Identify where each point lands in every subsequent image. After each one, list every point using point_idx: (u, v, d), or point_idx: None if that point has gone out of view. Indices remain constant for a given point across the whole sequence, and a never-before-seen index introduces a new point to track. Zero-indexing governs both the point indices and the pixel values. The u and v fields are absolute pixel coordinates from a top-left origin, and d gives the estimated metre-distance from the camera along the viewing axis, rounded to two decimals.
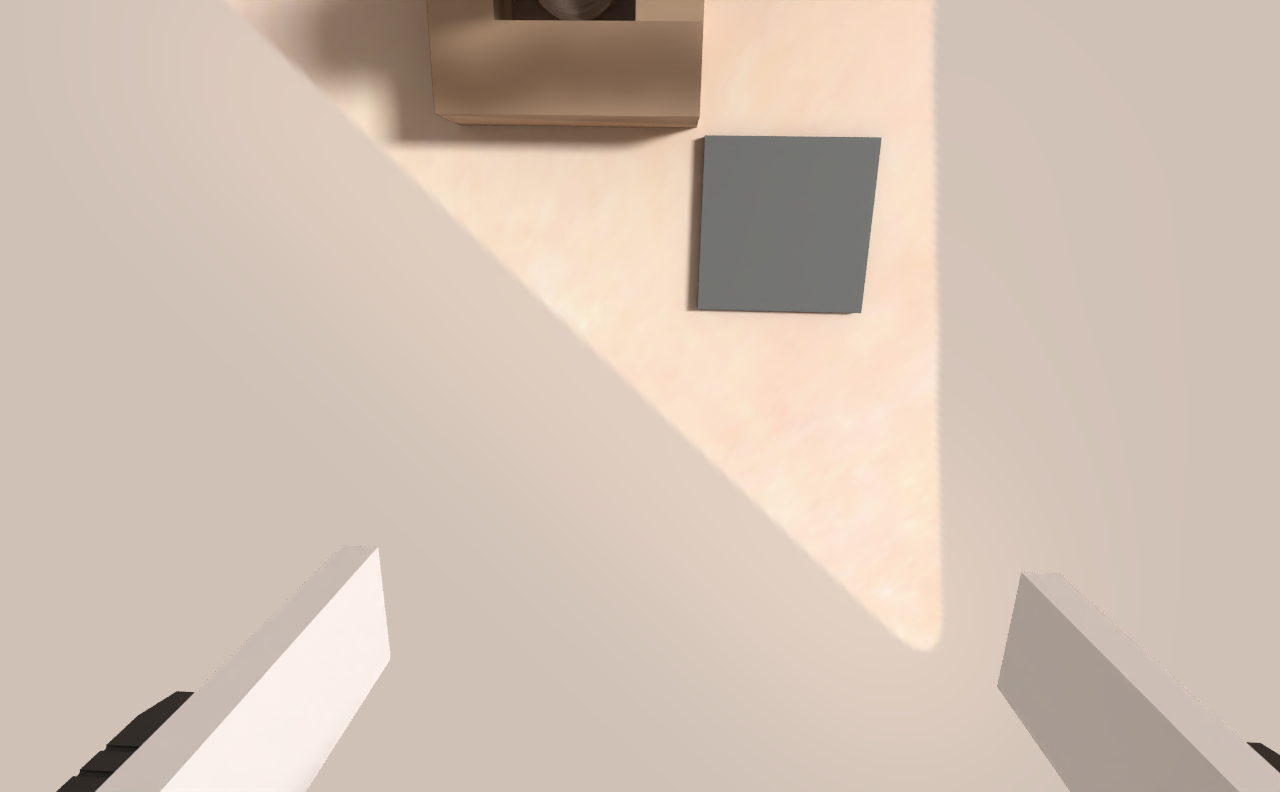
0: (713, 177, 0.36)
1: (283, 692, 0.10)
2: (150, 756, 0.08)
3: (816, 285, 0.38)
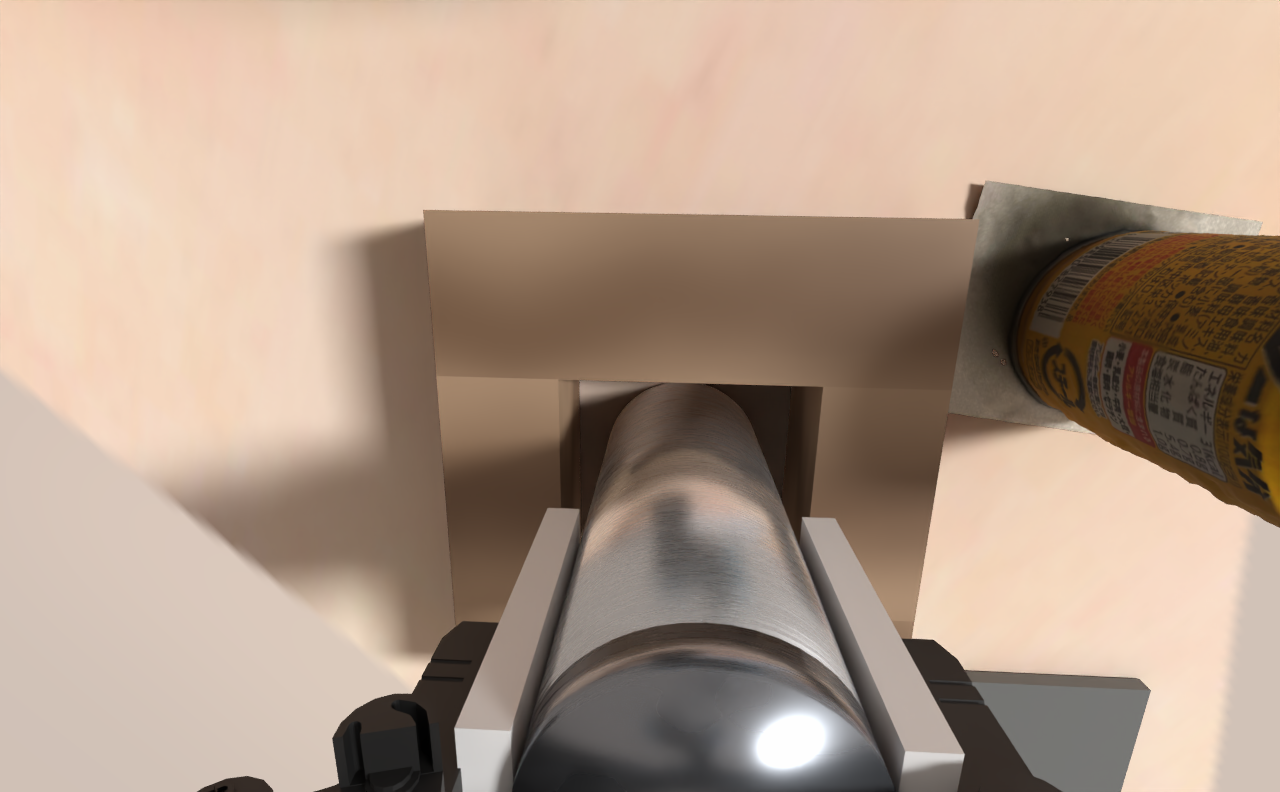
0: None
1: (553, 621, 0.11)
2: (498, 659, 0.09)
3: None
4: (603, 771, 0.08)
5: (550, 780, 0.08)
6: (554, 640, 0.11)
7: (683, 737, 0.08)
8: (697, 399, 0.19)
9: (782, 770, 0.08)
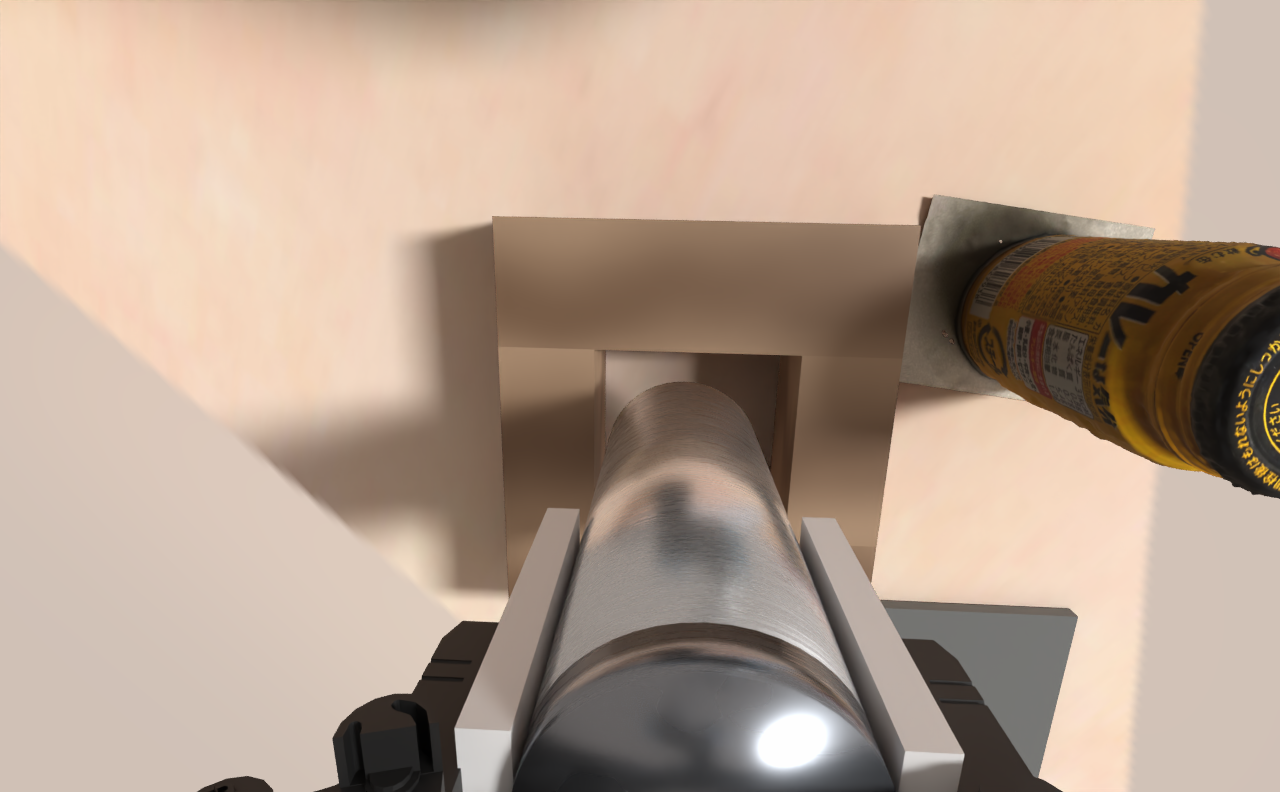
0: None
1: (553, 621, 0.11)
2: (499, 659, 0.09)
3: None
4: (604, 771, 0.08)
5: (550, 780, 0.08)
6: (554, 640, 0.11)
7: (683, 737, 0.08)
8: (697, 399, 0.19)
9: (782, 770, 0.08)
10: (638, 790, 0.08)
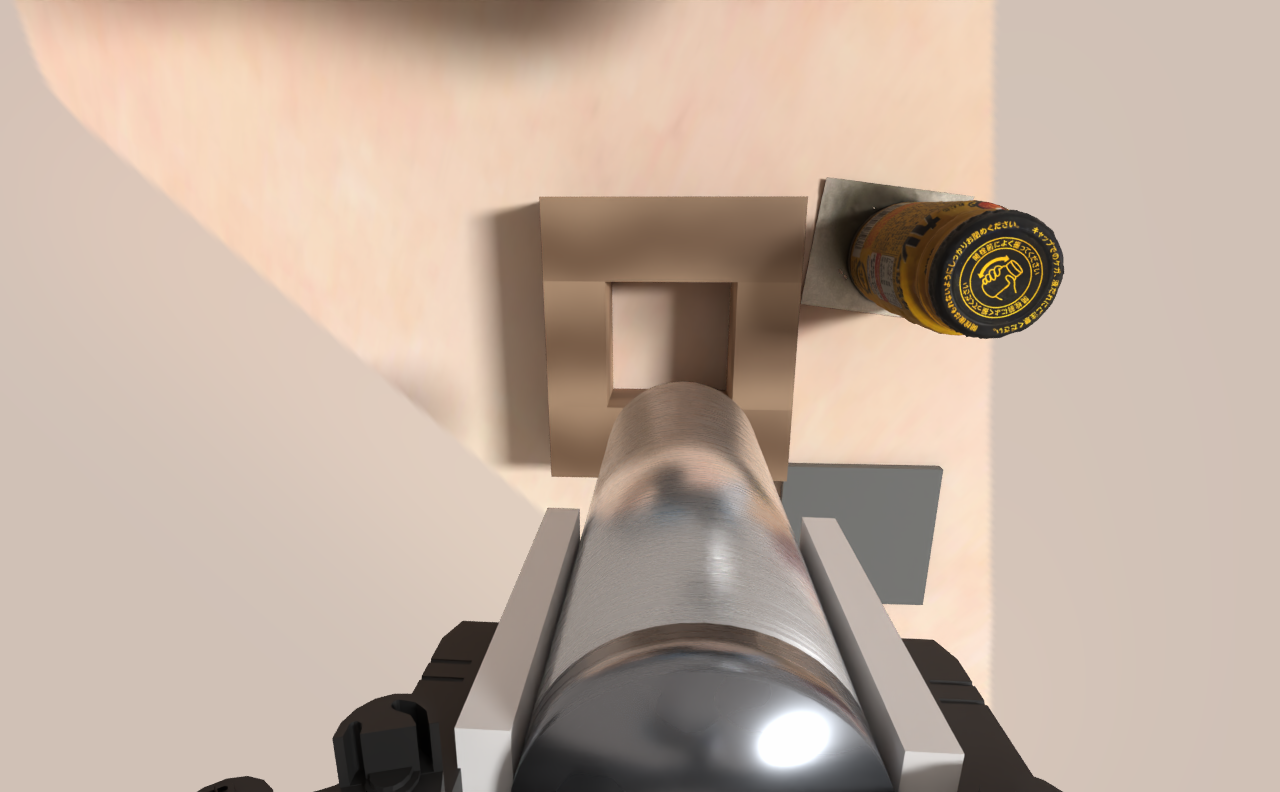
0: (791, 498, 0.40)
1: (553, 621, 0.11)
2: (499, 659, 0.09)
3: (882, 583, 0.42)
4: (602, 772, 0.08)
5: (549, 780, 0.08)
6: (553, 640, 0.11)
7: (682, 737, 0.08)
8: (697, 399, 0.19)
9: (781, 770, 0.08)
10: (637, 791, 0.08)
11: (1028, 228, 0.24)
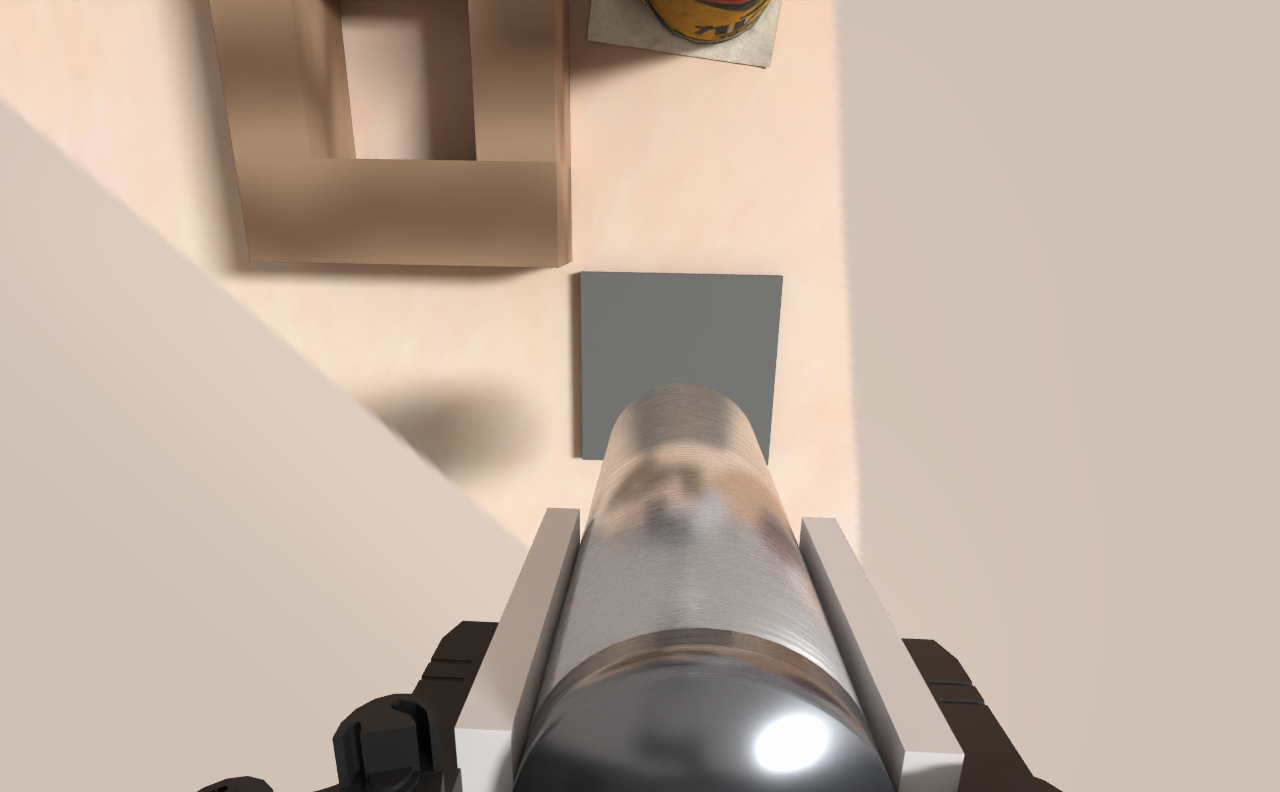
0: (592, 318, 0.31)
1: (553, 621, 0.11)
2: (498, 659, 0.09)
3: None
4: (603, 778, 0.08)
5: (549, 787, 0.08)
6: (553, 644, 0.11)
7: (683, 744, 0.08)
8: (697, 401, 0.19)
9: (782, 777, 0.08)
10: None
11: None
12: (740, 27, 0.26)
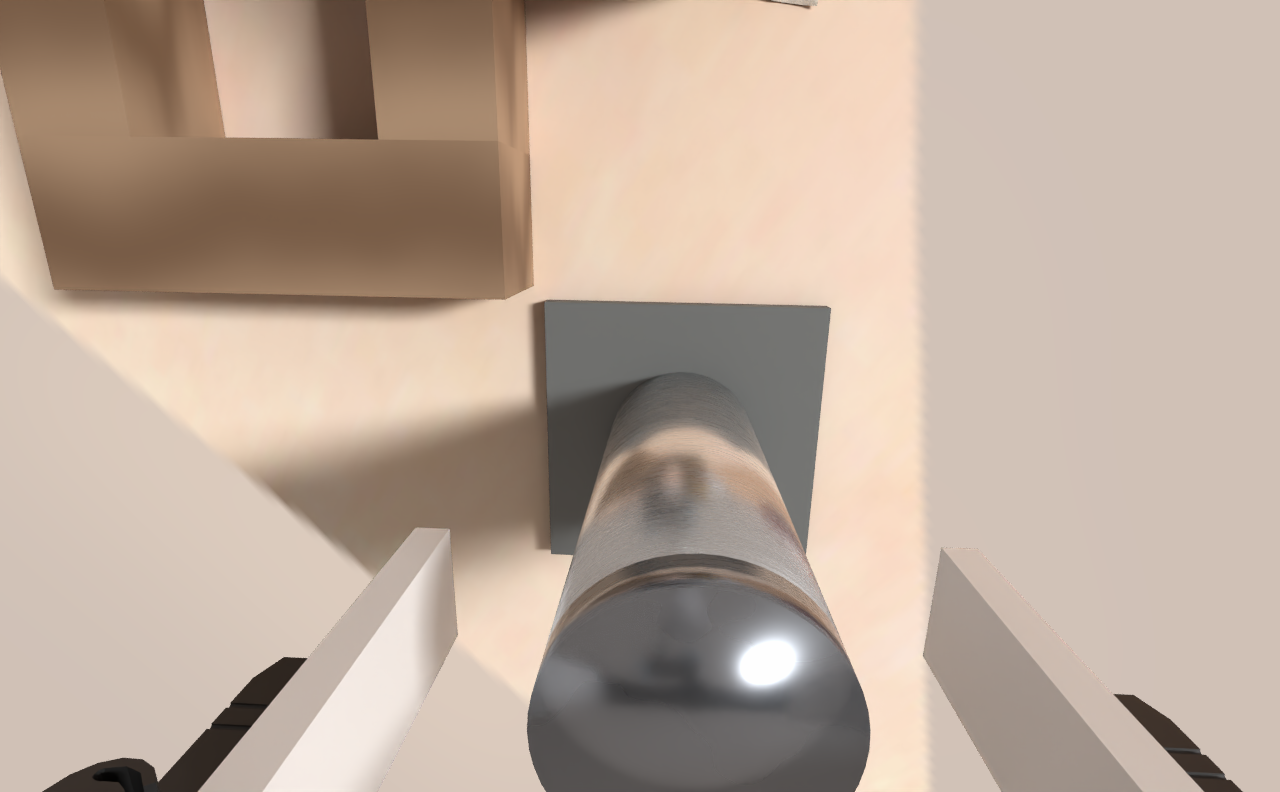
0: (562, 365, 0.22)
1: (383, 658, 0.10)
2: (284, 708, 0.08)
3: None
4: (611, 679, 0.09)
5: (564, 687, 0.09)
6: (565, 584, 0.12)
7: (680, 647, 0.09)
8: (695, 386, 0.20)
9: (765, 676, 0.09)
10: (640, 696, 0.09)
11: None
12: None
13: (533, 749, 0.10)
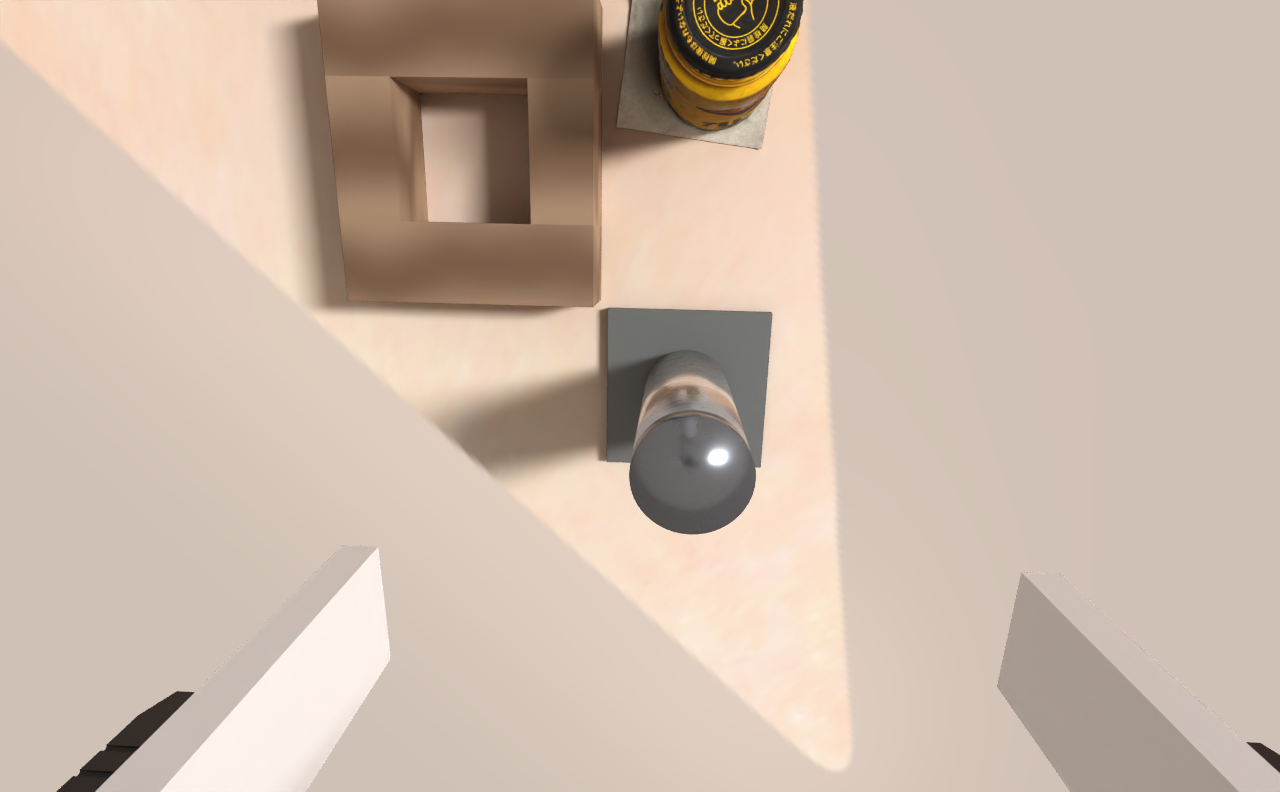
0: (617, 345, 0.38)
1: (282, 692, 0.10)
2: (150, 756, 0.08)
3: None
4: (661, 452, 0.25)
5: (644, 456, 0.25)
6: (637, 433, 0.28)
7: (686, 439, 0.25)
8: (694, 357, 0.36)
9: (717, 450, 0.25)
10: (672, 459, 0.25)
11: None
12: (737, 121, 0.34)
13: (631, 482, 0.26)
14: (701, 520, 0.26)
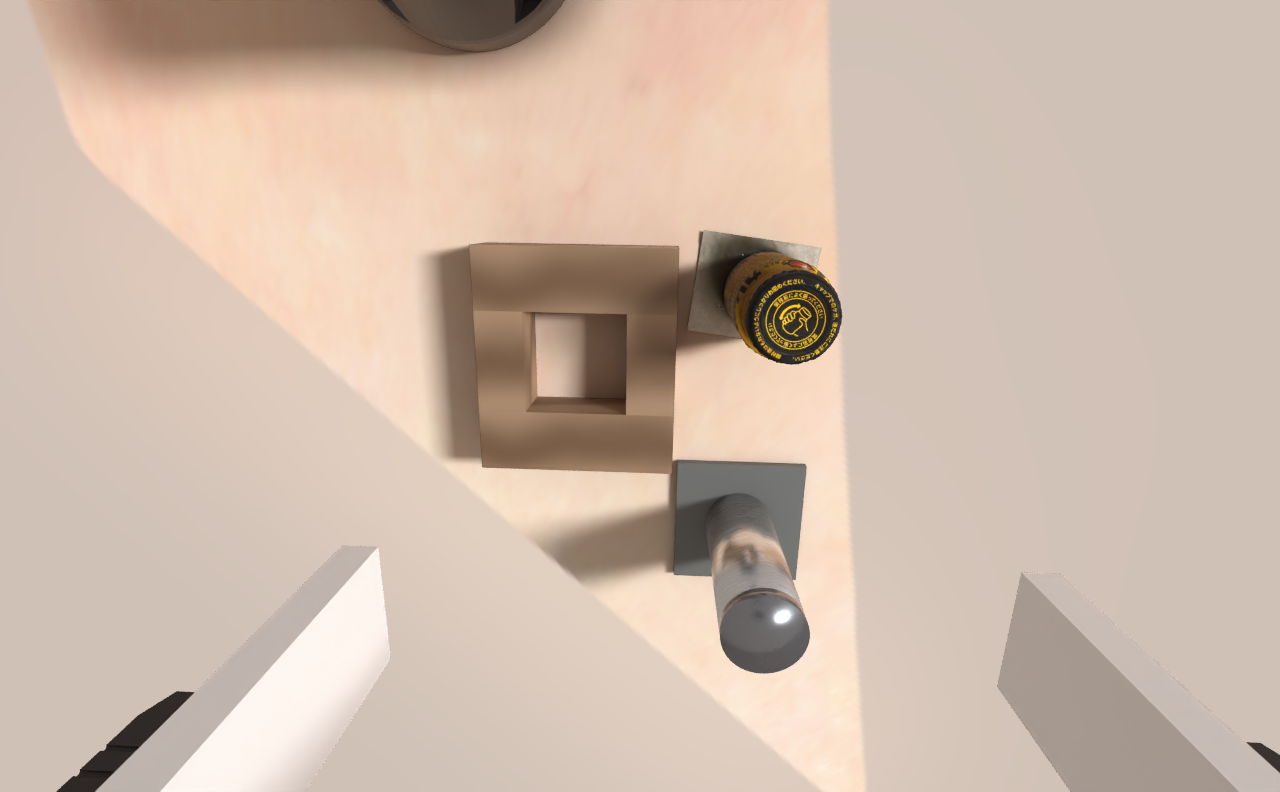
0: (684, 489, 0.49)
1: (283, 692, 0.10)
2: (150, 756, 0.08)
3: None
4: (743, 620, 0.36)
5: (731, 622, 0.36)
6: (720, 594, 0.39)
7: (761, 612, 0.36)
8: (747, 505, 0.47)
9: (782, 619, 0.36)
10: (750, 624, 0.36)
11: (812, 284, 0.33)
12: None
13: (721, 639, 0.36)
14: (770, 664, 0.37)
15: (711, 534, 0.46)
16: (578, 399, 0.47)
